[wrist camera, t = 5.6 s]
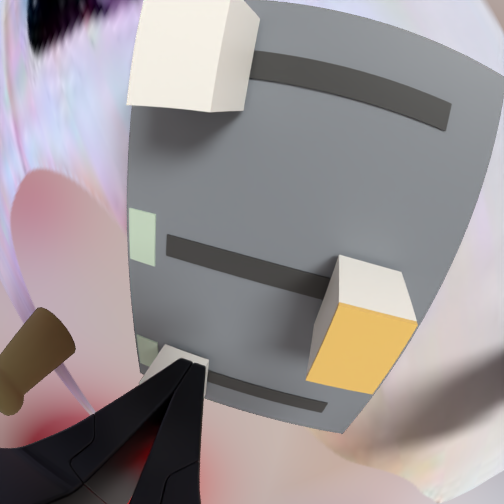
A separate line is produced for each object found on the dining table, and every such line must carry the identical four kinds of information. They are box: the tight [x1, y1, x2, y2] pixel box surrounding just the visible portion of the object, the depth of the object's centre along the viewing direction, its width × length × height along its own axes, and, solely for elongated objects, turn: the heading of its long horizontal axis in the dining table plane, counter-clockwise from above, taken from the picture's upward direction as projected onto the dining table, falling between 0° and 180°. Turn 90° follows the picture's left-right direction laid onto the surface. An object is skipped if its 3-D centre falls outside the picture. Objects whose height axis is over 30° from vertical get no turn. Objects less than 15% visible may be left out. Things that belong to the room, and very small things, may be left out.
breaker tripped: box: [306, 255, 418, 394], centre depth 12 cm, size 3×4×4 cm
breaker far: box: [139, 344, 209, 397], centre depth 17 cm, size 3×4×4 cm
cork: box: [0, 307, 76, 416], centre depth 21 cm, size 6×6×11 cm
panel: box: [127, 0, 504, 434], centre depth 15 cm, size 16×24×2 cm, turn 171°
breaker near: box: [127, 0, 260, 112], centre depth 9 cm, size 3×4×4 cm
